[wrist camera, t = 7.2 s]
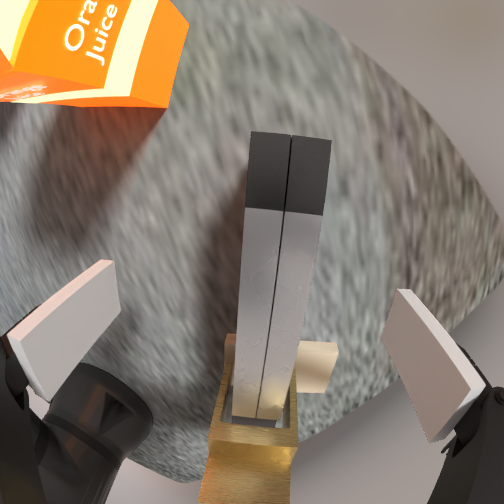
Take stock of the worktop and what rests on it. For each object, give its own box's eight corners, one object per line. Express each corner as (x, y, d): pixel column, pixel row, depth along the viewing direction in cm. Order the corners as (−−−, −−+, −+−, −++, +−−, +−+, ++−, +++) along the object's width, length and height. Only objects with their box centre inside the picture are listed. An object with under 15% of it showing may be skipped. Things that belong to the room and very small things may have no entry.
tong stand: (322, 382, 26) (329, 432, 20) (225, 374, 26) (214, 423, 20) (336, 342, 24) (348, 394, 18) (227, 333, 24) (213, 384, 18)
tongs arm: (281, 338, 24) (279, 420, 15) (264, 336, 24) (256, 418, 15) (307, 146, 18) (331, 140, 10) (285, 143, 18) (292, 135, 10)
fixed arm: (263, 334, 24) (255, 418, 15) (246, 332, 24) (231, 415, 15) (284, 143, 18) (290, 134, 10) (263, 141, 18) (251, 131, 10)
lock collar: (288, 395, 22) (286, 513, 11) (225, 388, 22) (198, 504, 11) (295, 368, 21) (298, 501, 10) (226, 361, 21) (194, 490, 10)
